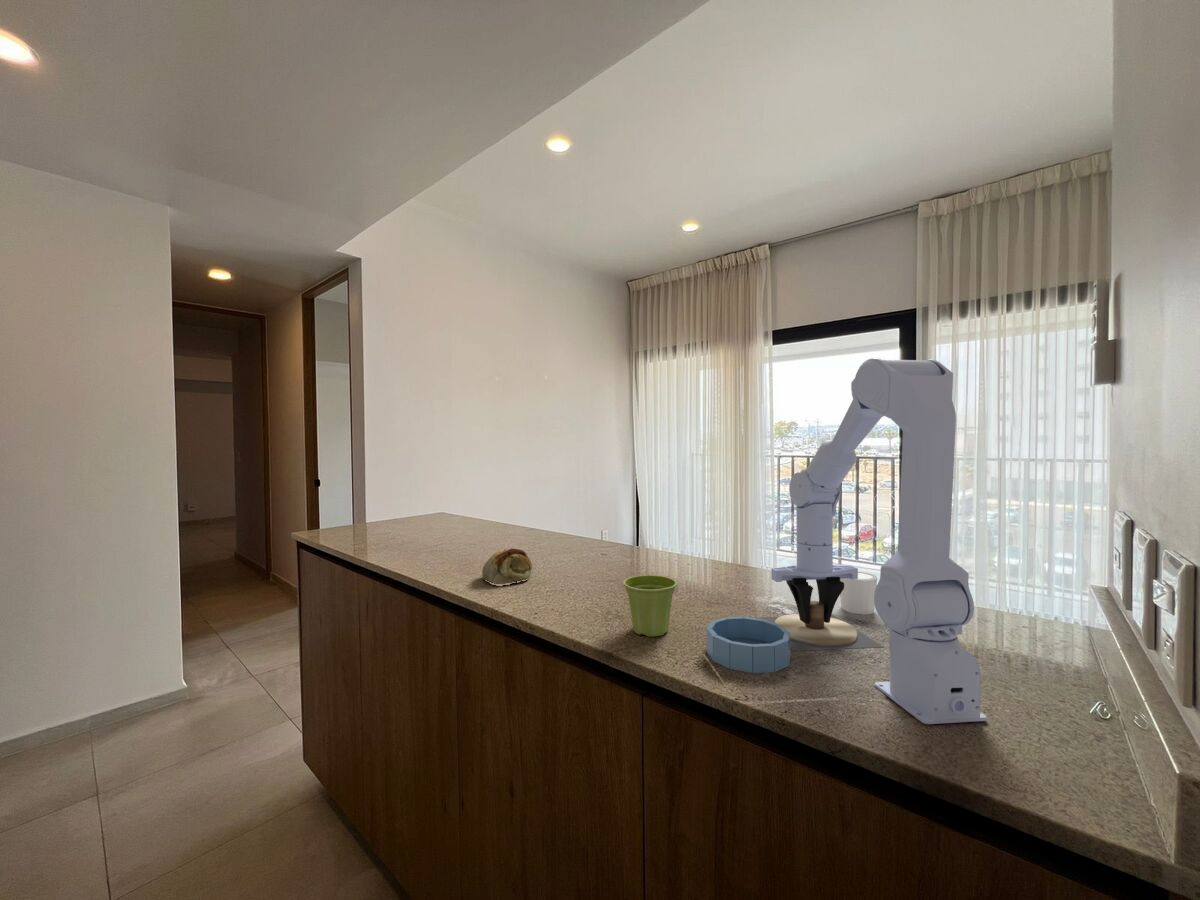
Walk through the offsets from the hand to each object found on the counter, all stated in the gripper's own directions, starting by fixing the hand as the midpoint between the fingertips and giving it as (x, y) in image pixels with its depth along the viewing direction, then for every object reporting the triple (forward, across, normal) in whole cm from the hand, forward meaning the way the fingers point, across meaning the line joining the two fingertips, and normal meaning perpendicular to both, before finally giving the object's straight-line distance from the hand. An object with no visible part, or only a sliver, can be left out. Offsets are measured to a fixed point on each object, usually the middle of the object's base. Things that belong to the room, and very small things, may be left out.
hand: (814, 621), depth 86 cm
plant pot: (+2, +28, -4) cm, 28 cm away
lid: (+2, 0, 0) cm, 2 cm away
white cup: (+2, -14, -10) cm, 17 cm away
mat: (+2, 0, 0) cm, 2 cm away
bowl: (+2, +15, +8) cm, 17 cm away
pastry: (+2, +56, -42) cm, 70 cm away
